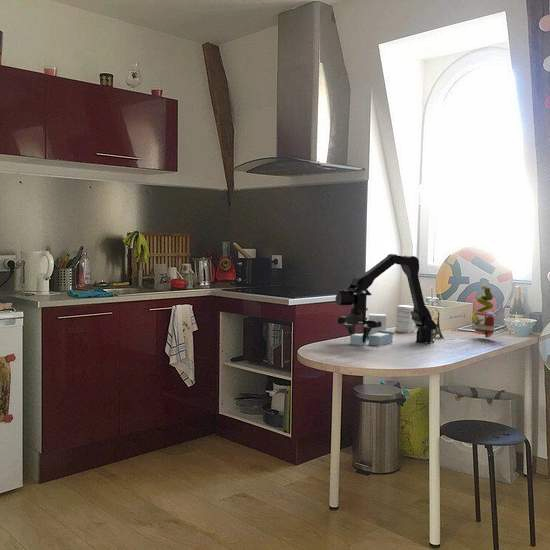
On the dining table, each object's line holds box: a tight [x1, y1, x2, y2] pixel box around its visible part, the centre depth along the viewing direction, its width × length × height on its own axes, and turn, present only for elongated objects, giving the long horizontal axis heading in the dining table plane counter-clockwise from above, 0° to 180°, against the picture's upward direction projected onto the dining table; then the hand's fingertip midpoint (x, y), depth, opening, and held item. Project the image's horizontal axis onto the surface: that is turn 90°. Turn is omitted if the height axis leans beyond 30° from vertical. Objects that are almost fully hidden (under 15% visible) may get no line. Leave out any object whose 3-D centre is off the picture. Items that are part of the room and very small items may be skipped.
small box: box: [367, 313, 387, 338], centre depth 295 cm, size 8×6×10 cm
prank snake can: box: [471, 284, 495, 338], centre depth 300 cm, size 12×10×25 cm
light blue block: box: [349, 333, 367, 346], centre depth 275 cm, size 5×5×4 cm
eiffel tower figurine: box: [433, 312, 454, 341], centre depth 299 cm, size 15×10×13 cm
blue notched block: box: [368, 330, 396, 347], centre depth 279 cm, size 7×13×5 cm, turn 144°
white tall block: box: [395, 304, 416, 334], centre depth 316 cm, size 7×7×13 cm
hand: (358, 341), depth 275 cm, fingers closed on light blue block, 5 cm apart
